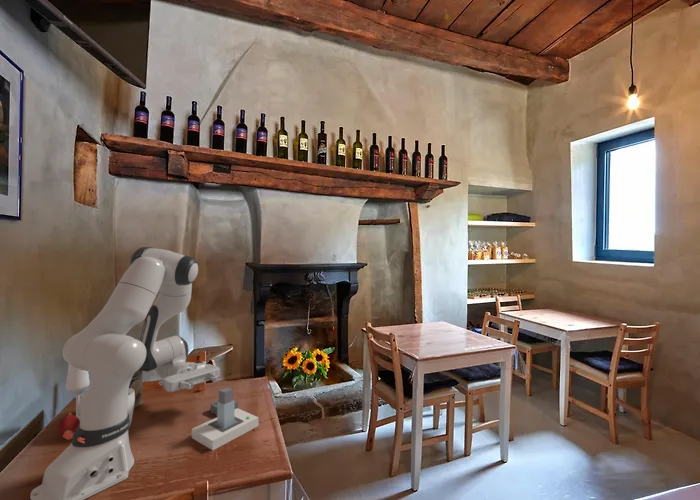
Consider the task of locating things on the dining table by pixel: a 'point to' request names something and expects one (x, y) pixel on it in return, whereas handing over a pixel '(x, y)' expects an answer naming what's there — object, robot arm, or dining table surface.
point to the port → (224, 430)
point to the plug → (225, 408)
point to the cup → (131, 403)
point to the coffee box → (137, 387)
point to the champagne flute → (77, 384)
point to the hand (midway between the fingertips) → (204, 382)
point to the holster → (214, 407)
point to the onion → (68, 424)
